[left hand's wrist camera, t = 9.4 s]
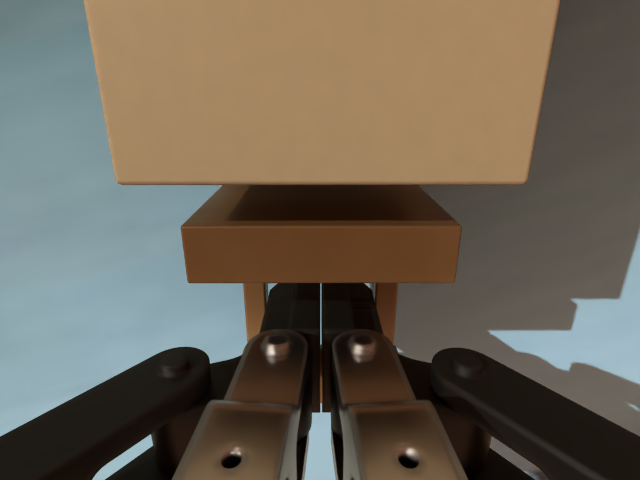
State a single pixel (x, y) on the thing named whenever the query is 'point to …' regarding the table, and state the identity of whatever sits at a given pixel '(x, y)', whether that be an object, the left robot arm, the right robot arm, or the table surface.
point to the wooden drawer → (321, 242)
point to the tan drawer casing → (321, 90)
